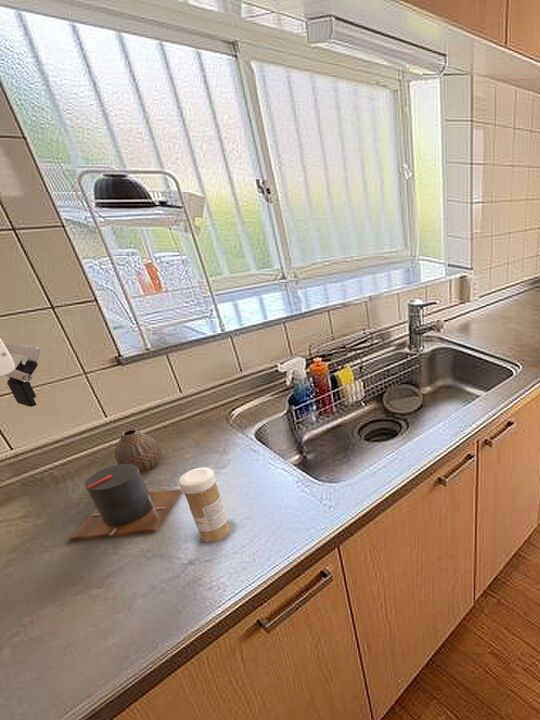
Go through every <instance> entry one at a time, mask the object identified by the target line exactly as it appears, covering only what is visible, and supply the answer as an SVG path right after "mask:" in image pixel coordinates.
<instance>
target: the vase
mask: <svg viewBox="0 0 540 720" xmlns="http://www.w3.org/2000/svg"><path fill="white" fill-rule="evenodd" d="M161 457H162V451H161V447H160V445H159V443H158V442H157V440H155V438H153V437H152V436H151V435H148V434H145V433H143V432H140V431H139V430H137V429H136V428H132V429H131V428H130V429H126V430H125V431H123V432H122V433H121V435H120V439H119V440H118V442H117V443H116V446H115V448H114V458H115V461H116V463H117V465H119V464H133V465H136V466H137V467H138V469H139V471H140V473H143V472H145V471H149V470H150V469H152V468H154V467H155V466H157V465H158V464H159V462H160V461H161Z"/></svg>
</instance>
